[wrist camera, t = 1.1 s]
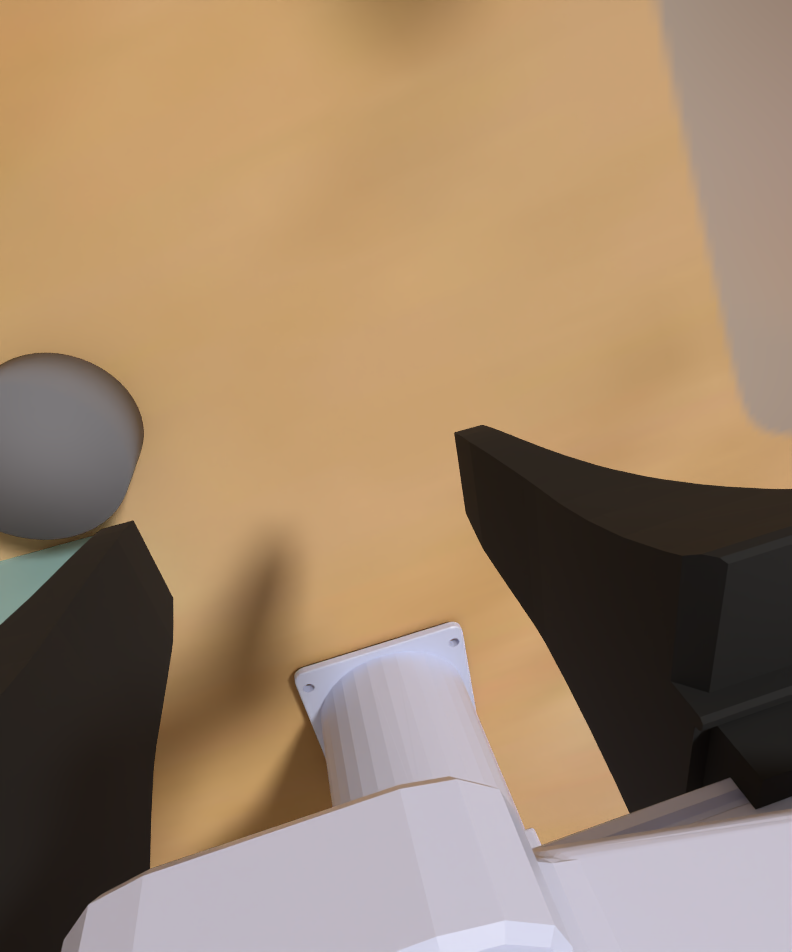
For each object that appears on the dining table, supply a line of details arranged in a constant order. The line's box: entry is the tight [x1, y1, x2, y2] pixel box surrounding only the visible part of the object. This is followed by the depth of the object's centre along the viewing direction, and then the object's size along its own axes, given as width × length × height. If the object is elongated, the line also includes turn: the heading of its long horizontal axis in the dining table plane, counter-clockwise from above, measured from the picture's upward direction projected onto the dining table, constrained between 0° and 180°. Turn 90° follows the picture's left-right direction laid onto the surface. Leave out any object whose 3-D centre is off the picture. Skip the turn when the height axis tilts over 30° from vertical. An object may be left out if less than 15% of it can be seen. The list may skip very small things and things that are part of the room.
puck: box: [0, 353, 144, 540], centre depth 18 cm, size 5×5×3 cm
